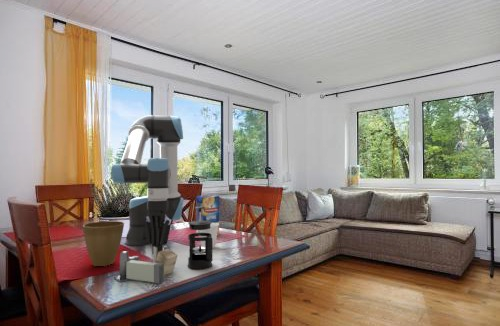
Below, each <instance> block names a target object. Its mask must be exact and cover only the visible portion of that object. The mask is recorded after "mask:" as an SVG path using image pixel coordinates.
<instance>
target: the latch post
mask: <svg viewBox="0 0 500 326" xmlns="http://www.w3.org/2000/svg"><path fill="white" fill-rule="evenodd" d="M165 249H170V250H171V246H170V245H163V250H165Z"/></svg>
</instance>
